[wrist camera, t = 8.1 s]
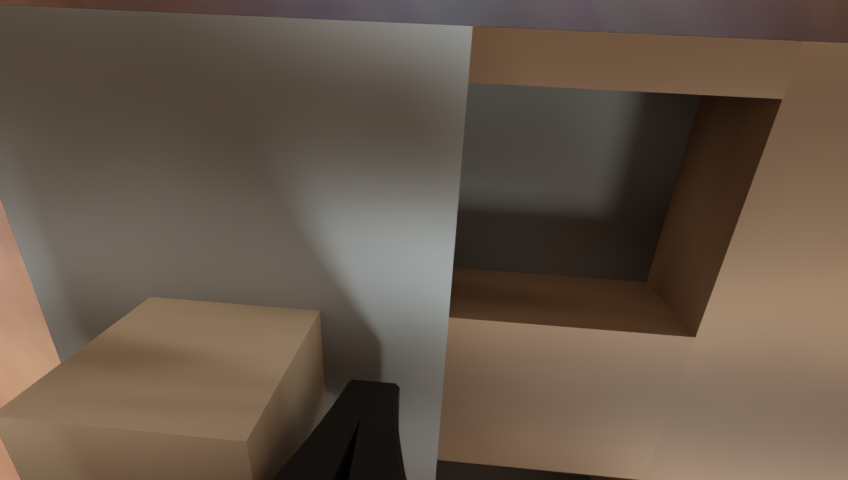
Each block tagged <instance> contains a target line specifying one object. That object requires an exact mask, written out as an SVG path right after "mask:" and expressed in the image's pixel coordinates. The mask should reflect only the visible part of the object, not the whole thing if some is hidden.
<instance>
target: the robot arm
mask: <svg viewBox="0 0 848 480" xmlns="http://www.w3.org/2000/svg"><path fill="white" fill-rule="evenodd" d="M399 400H400V387H399V386H398V385H397V384H396V383H386V382H375V381H364V380H353V379H352V380H351V381H350V382H348V383H347V385H346V386H345V388H344V390H343V391H342V393H341V394H340V395H339V397H338V398H337V400H336V401H335V403H334V404H333V405H332V407H331V408H330V409H329V411H328V412H327V413H326V415H325V416H324V417H323V419H322V420H321V421H320V423H319V424H318V425H317V426H316V428H315V429H314V430H313V431H312V433H311V434H310V435H309V436H308V438H307V439H306V440H305V441H304V443H303V444H302V445H301V446H300V448H299V449H298V450H297V451H296V452H295V453H294V454H293V456H292V457H291V458H290V459H289V460H288V461H287V462H286V463H285V465H284V466H283V467H282V468H281V469H280V470H279V471H278V472H277V474H276V475H275V476H274V477H273V478H272V479H271V480H407V479H406V474H405V469H404V463H403V457H402V450H401V443H400V436H399Z"/></svg>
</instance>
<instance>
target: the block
mask: <svg viewBox="0 0 848 480" xmlns="http://www.w3.org/2000/svg"><path fill="white" fill-rule="evenodd" d="M325 415H326V403H325V386H324V369H323V353H322V336H321V319H320V311H318V310H306V309H293V308H281V307H269V306H257V305H244V304H232V303H220V302H208V301H195V300H183V299H171V298H159V297H149V298H148V299H147V300H145V301H144V302H143V303H141V304H140V305H139V306H137V307H136V308H135V309H133V310H132V311H131V312H129V313H128V314H127V315H125V316H124V317H123V318H121V319H120V320H119V321H117V322H116V323H115V324H113V325H112V326H111V327H109V328H108V329H106V330H105V331H104V332H102V333H101V334H100V335H98V336H97V337H96V338H94V339H93V340H92V341H90V342H89V343H88V344H86V345H85V346H84V347H82V348H81V349H80V350H78V351H77V352H76V353H74V354H73V355H72V356H70V357H69V358H68V359H66V360H65V361H64V362H62V363H61V364H60V365H58V366H57V367H56V368H54V369H53V370H52V371H50V372H49V373H48V374H46V375H45V376H44V377H42V378H41V379H40V380H38V381H37V382H36V383H34V384H33V385H32V386H30V387H29V388H27V389H26V390H25V391H23V392H22V393H21V394H19V395H18V396H17V397H15V398H14V399H13V400H11V401H10V402H9V403H7V404H6V405H5V406H3V407H2V408H1V409H0V437H1V439H2V441H3V443H4V445H5V447H6V450H7V452H8V454H9V456H10V458H11V460H12V462H13V464H14V466H15V468H16V470H17V472H18V475H19V477H20V479H21V480H271V479H272V478H273V477H274V476H275V475H276V474H277V472H278V471H279V470H280V469H281V468H282V467H283V466H284V465H285V463H286V462H287V461H288V460H289V459H290V458H291V457H292V456H293V454H294V453H295V452H296V451H297V450H298V449H299V448H300V446H301V445H302V444H303V443H304V441H305V440H306V439H307V438H308V436H309V435H310V434H311V433H312V431H313V430H314V429H315V428H316V426H317V425H318V424H319V423H320V421H321V420H322V419H323V417H324V416H325Z"/></svg>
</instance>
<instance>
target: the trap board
mask: <svg viewBox="0 0 848 480" xmlns="http://www.w3.org/2000/svg"><path fill="white" fill-rule="evenodd" d="M0 198H1V201H2V204H3V206H4V209H5V212H6V214H7V217H8V220H9V223H10V225H11V228H12V231H13V233H14V236H15V239H16V242H17V244H18V247H19V250H20V252H21V255H22V258H23V261H24V263H25V266H26V269H27V272H28V274H29V277H30V280H31V282H32V285H33V288H34V291H35V293H36V296H37V299H38V301H39V304H40V307H41V310H42V312H43V315H44V318H45V320H46V323H47V326H48V329H49V331H50V334H51V337H52V339H53V342H54V345H55V348H56V350H57V353H58V356H59V359H60V361H61V363H62V362H64V361H65V360H66V359H68V358H69V357H70V356H72V355H73V354H74V353H76V352H77V351H78V350H80V349H81V348H82V347H84V346H85V345H86V344H88V343H89V342H90V341H92V340H93V339H94V338H96V337H97V336H98V335H100V334H101V333H102V332H104V331H105V330H106V329H108V328H109V327H111V326H112V325H113V324H115V323H116V322H117V321H119V320H120V319H121V318H123V317H124V316H125V315H127V314H128V313H129V312H131V311H132V310H133V309H135V308H136V307H137V306H139V305H140V304H141V303H143V302H144V301H145V300H147V299H148V298H149V297H159V298H171V299H183V300H195V301H208V302H220V303H232V304H244V305H257V306H269V307H281V308H293V309H306V310H318V311H320V319H321V336H322V353H323V369H324V386H325V403H326V413H327V412H328V411H329V409H330V408H331V407H332V405H333V404H334V403H335V401H336V400H337V398H338V397H339V395H340V394H341V393H342V391H343V390H344V388H345V386H346V385H347V383H348V382H350V381H351V380H352V379H353V380H364V381H375V382H386V383H396V384H397V385H398V386H399V387H400V400H399V436H400V443H401V450H402V457H403V463H404V469H405V474H406V479H407V480H848V43H834V42H812V41H790V40H768V39H746V38H724V37H702V36H680V35H658V34H636V33H614V32H592V31H570V30H548V29H526V28H503V27H481V26H459V25H437V24H415V23H393V22H371V21H349V20H327V19H305V18H283V17H261V16H239V15H217V14H195V13H173V12H151V11H129V10H107V9H85V8H63V7H41V6H19V5H0Z"/></svg>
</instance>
